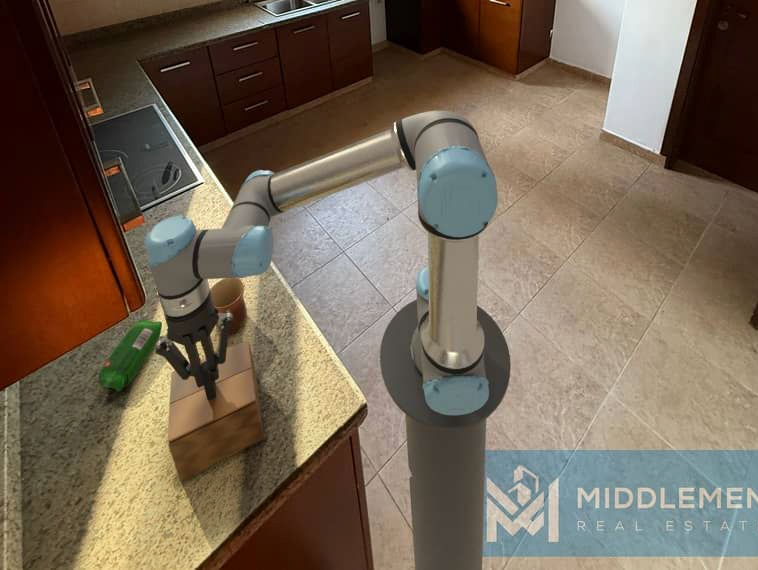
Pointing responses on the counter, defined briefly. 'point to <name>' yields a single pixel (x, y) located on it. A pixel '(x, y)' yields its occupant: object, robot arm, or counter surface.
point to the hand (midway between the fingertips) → (211, 391)
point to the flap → (210, 405)
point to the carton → (224, 432)
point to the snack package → (129, 354)
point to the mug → (230, 301)
